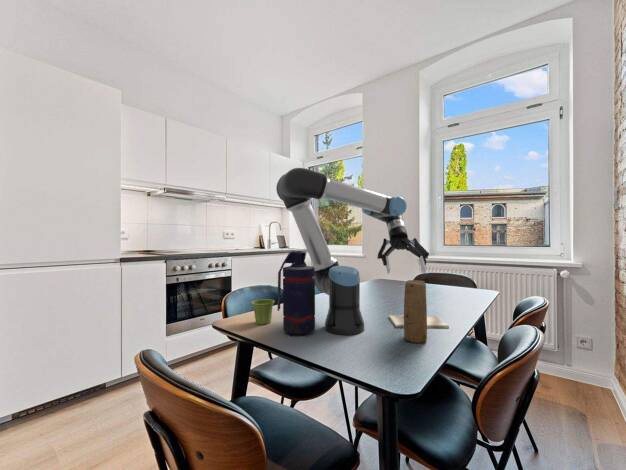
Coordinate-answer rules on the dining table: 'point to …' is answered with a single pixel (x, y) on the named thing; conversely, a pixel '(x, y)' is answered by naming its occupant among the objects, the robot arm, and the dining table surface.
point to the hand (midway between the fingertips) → (406, 271)
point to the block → (415, 311)
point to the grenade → (297, 295)
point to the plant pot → (263, 310)
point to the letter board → (431, 321)
